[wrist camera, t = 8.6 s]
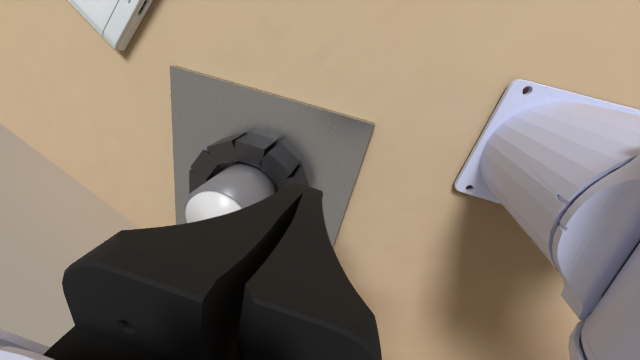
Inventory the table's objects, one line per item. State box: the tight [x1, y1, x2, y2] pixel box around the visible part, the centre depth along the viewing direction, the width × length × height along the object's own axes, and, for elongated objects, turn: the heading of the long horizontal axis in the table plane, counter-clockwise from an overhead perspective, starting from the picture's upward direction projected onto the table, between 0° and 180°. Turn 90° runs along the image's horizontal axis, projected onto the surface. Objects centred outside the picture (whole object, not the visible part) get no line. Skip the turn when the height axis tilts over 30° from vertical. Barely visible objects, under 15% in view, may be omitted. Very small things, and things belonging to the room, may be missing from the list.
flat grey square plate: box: [170, 66, 375, 247], centre depth 22 cm, size 16×16×3 cm
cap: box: [184, 161, 279, 223], centre depth 19 cm, size 5×5×6 cm
